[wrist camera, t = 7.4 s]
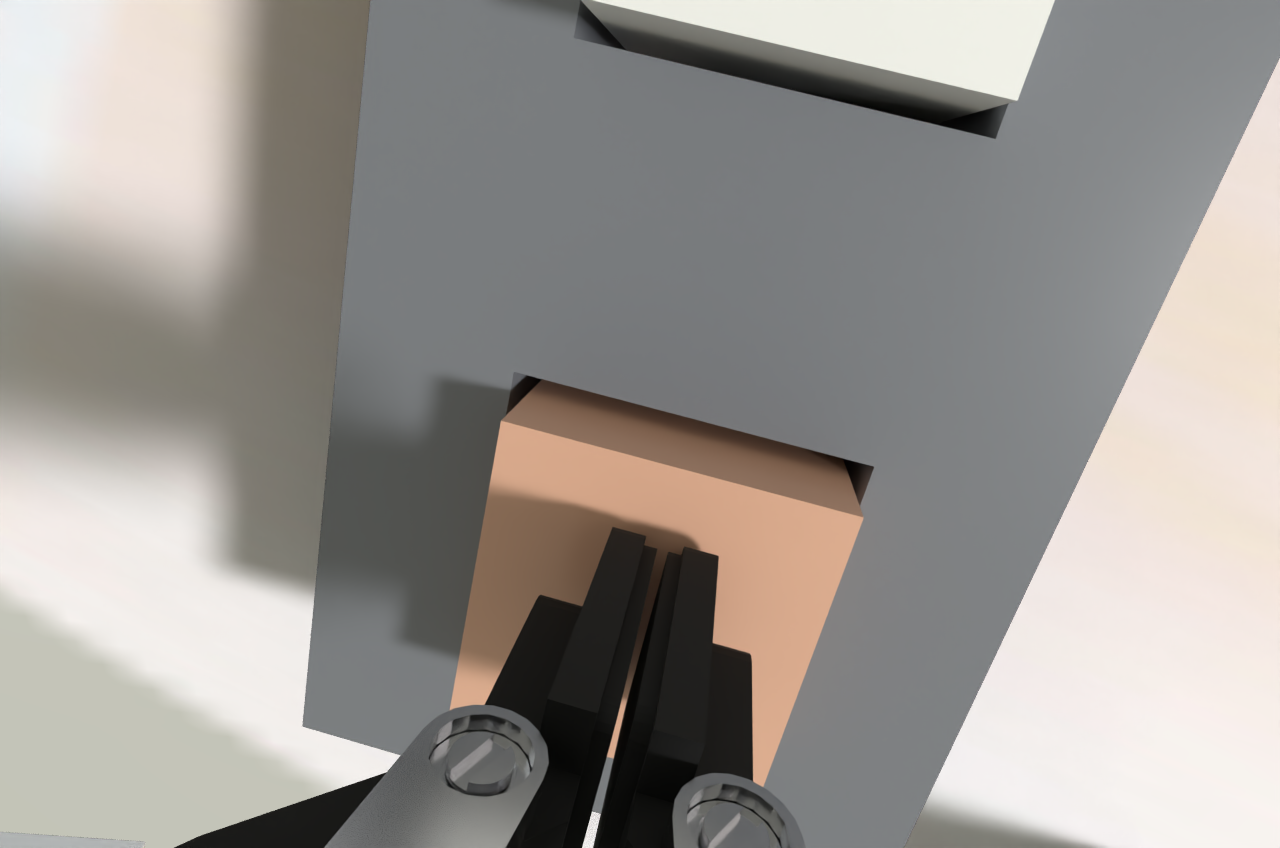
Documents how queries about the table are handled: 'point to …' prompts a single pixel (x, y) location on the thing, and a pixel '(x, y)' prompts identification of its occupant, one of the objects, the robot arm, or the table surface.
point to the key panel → (757, 331)
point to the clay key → (660, 535)
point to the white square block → (848, 47)
